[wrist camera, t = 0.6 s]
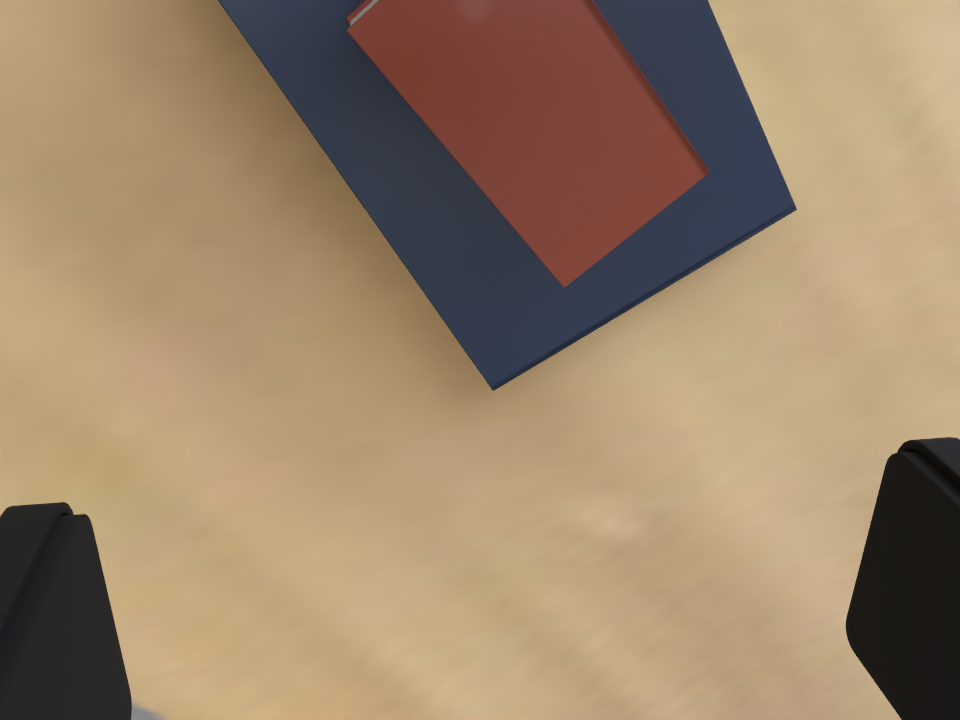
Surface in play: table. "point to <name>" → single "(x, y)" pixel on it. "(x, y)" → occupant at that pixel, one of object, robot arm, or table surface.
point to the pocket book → (537, 116)
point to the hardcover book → (474, 218)
